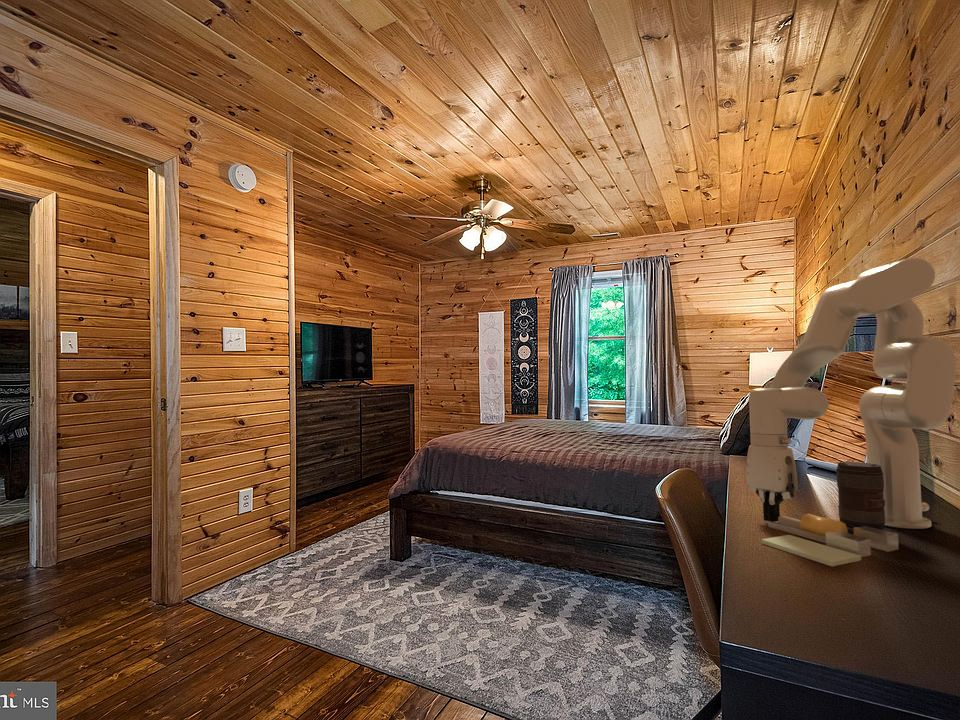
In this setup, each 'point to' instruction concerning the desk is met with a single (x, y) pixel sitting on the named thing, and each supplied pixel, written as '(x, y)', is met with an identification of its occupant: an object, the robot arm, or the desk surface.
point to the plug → (813, 524)
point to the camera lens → (860, 495)
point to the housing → (850, 539)
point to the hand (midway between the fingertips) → (771, 520)
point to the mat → (811, 550)
